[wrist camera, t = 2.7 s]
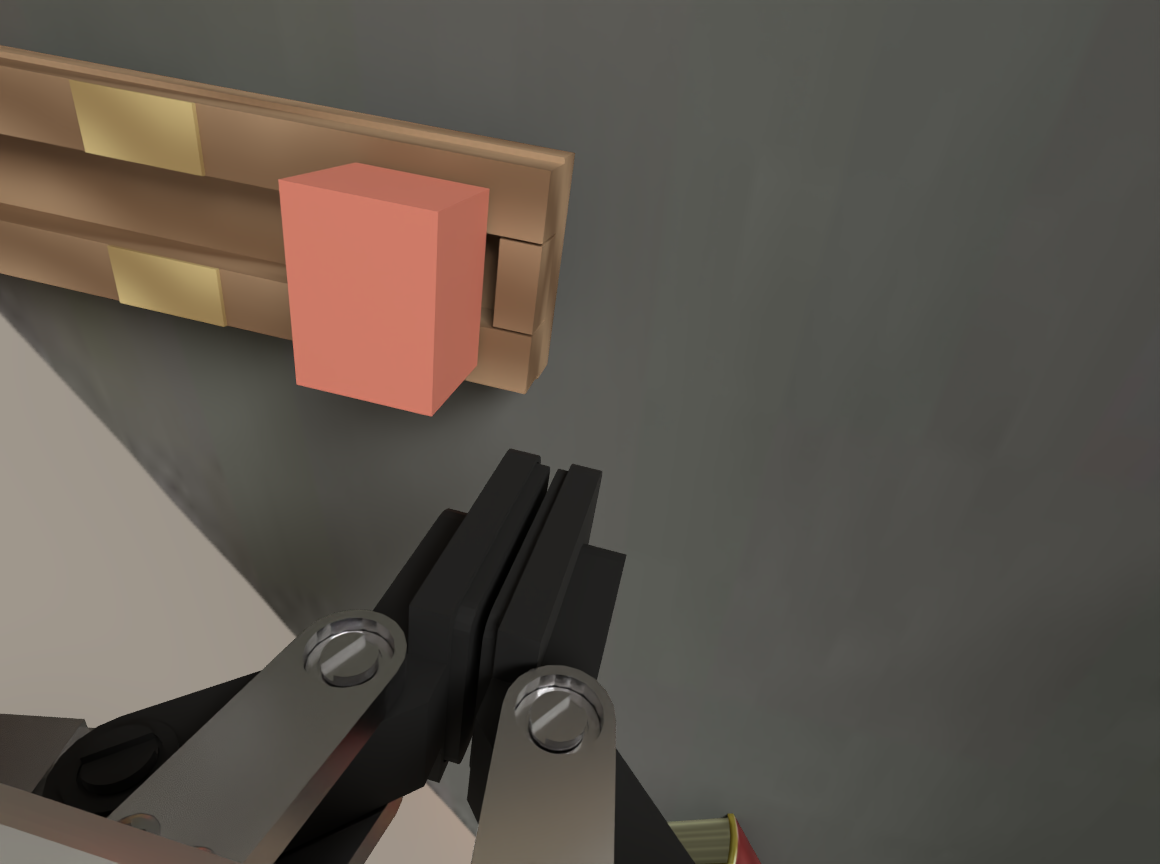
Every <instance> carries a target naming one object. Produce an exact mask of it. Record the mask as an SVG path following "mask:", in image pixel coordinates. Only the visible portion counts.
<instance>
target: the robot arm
mask: <svg viewBox="0 0 1160 864" xmlns="http://www.w3.org/2000/svg"><path fill="white" fill-rule="evenodd" d="M549 474H550V467H549V466H545V465H541V457H540V456H539V455H535V454H531V453H527V452H522V451H518V450H514V449H509V450H508V451H507V453H506V454H505V456H504V457H503V459H502V460H501V462H500V464H499V465H498V467H497V468H496V470H495V471H494V473H493V474H492V476H491V478H490V479H489V481H488V482H487V484H486V485H485V487H484V489H483V490H482V492H481V493H480V495H479V496H478V498H477V500H476V501H475V503H474V504H473V506H472V507H471V509H470V511H469V512H468V513H464V512H460V511H457V510H453V509H449V508H448V509H446V510H444V511H443V512H442V513H441V515H440V516H439V517H438V519H437V520H436V522H435V523H434V524H433V526H432V527H431V529H430V530H429V532H428V533H427V534H426V536H425V537H424V539H423V540H422V542H421V543H420V544H419V546H418V547H417V549H416V550H415V552H414V553H413V554H412V556H411V557H410V559H409V560H408V562H407V563H406V564H405V566H404V567H403V569H402V570H401V571H400V573H399V574H398V576H397V577H396V579H395V580H394V581H393V583H392V584H391V586H390V587H389V589H388V590H387V591H386V593H385V594H384V596H383V597H382V599H381V600H380V601H379V603H378V604H377V606H376V607H375V609H374V610H373V611H370V610H347V611H341V612H336V613H333V614H331V615H328V616H326V617H324V618H321V619H319V620H317V621H316V622H314V623H313V624H312V625H310V626H309V627H308V628H306V629H305V630H304V631H303V632H302V633H301V634H300V635H298V636H297V637H296V638H295V639H294V640H293V641H292V642H291V643H290V644H289V645H288V646H287V647H286V648H285V649H284V650H283V651H282V652H281V653H280V654H278V655H277V656H276V657H275V658H274V659H273V660H272V661H271V662H270V663H269V664H268V665H267V666H266V667H265V668H264V669H263V670H261V671H258V672H255V673H252V674H249V675H246V676H243V677H240V678H237V679H234V680H231V681H228V682H225V683H222V684H219V685H216V686H213V687H210V688H206V689H204V690H201V691H197V692H194V693H191V694H188V695H185V696H182V697H179V698H176V699H173V700H170V701H167V702H164V703H161V704H158V705H154V706H151V707H149V708H145V709H142V710H139V711H136V712H133V713H130V714H127V715H124V716H121V717H118V718H116V719H114V720H112V721H109V722H107V723H105V724H102V725H100V726H98V727H97V728H87V725H86V722H85V720H84V719H73V718H58V717H57V718H56V717H42V716H27V715H13V714H0V864H364V863H365V861H366V860H367V858H368V857H369V855H370V854H371V852H372V851H373V849H374V847H375V846H376V844H377V843H378V841H379V840H380V838H381V837H382V835H383V834H384V832H385V830H386V829H387V827H388V826H389V824H390V823H391V821H392V819H393V818H394V817H395V815H396V813H397V811H398V809H399V806H400V804H401V802H402V798H403V796H405V795H407V794H409V793H411V792H413V791H415V790H417V789H419V788H421V787H424V785H425V783H426V781H427V779H429V780H432V781H435V782H438V783H439V782H440V780H441V778H442V775H443V773H444V771H445V768H446V766H447V764H448V761H450V762H454V763H457V764H460V763H461V761H462V759H463V757H464V755H465V752H466V750H467V748H468V745H469V743H470V740H471V738H472V745H471V755H470V777H469V787H468V796H467V801H468V803H469V805H470V807H471V809H472V811H473V814H474V816H475V818H476V820H477V822H478V824H479V825H478V830H477V835H476V840H475V845H474V850H473V855H472V861H471V864H695V862H694V861H693V859H692V858H691V856H690V855H689V853H688V852H687V851H686V849H685V848H684V846H683V845H682V843H681V842H680V840H679V839H678V838H677V836H676V835H675V833H674V832H673V830H672V829H671V827H670V826H669V824H668V823H667V822H666V820H665V819H664V817H663V816H662V814H661V813H660V811H659V810H658V808H657V807H656V806H655V804H654V803H653V801H652V800H651V798H650V797H649V795H648V794H647V793H646V791H645V790H644V788H643V787H642V785H641V784H640V782H639V781H638V779H637V778H636V777H635V775H634V774H633V772H632V771H631V769H630V768H629V766H628V765H627V763H626V762H625V761H624V759H623V758H622V756H621V755H620V753H619V752H618V750H617V749H616V715H615V709H614V704H613V702H612V700H611V698H610V697H609V695H608V693H607V691H606V690H605V689H604V688H603V687H602V686H601V684H600V683H599V682H598V681H597V677H598V673H599V668H600V664H601V660H602V656H603V652H604V647H605V643H606V639H607V635H608V630H609V626H610V622H611V618H612V613H613V609H614V605H615V601H616V597H617V592H618V588H619V584H620V580H621V575H622V571H623V567H624V563H625V559H626V554H622V553H618V552H614V551H610V550H606V549H602V548H599V547H595V546H591V545H588V543H589V538H590V533H591V528H592V523H593V518H594V513H595V508H596V503H597V498H598V493H599V488H600V483H601V478H602V471H600V470H596V469H592V468H587V467H583V466H579V465H575V464H572V465H571V467H570V469H569V471H565V470H561V469H558V470H557V472H556V474H555V476H554V478H553V481H552V483H551V485H550V487H549V489H548V491H547V487H548V481H549Z"/></svg>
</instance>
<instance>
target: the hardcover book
mask: <svg viewBox="0 0 1160 864" xmlns="http://www.w3.org/2000/svg"><path fill="white" fill-rule="evenodd" d="M667 823H668V824H669V826H670V827H671V829H672V830H673V832H674V833H675V835H676V836H677V838H678V839H679V840H680V842H681V843H682V845H683V846H684V848H685V849H686V851H687V852H688V853H689V855H690V856H691V858H692V859H693V861H694V862H695V864H761V863H760V861H759V859H758V857H757V855H756V854H755V852H754V850H753V848H752V846H751V845H750V843H749V841H748V839H747V837H746V836H745V834H744V832H743V830H742V829H741V827H740V825H739V823H738V821H737V820H736V818H735V816H734V814H728V818H716V819H702V820H688V821H674V822H667Z"/></svg>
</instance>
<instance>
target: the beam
mask: <svg viewBox="0 0 1160 864" xmlns="http://www.w3.org/2000/svg"><path fill="white" fill-rule="evenodd" d="M574 157H575V153H572V152H566V151H561V150H556V149H550V148H545V147H540V146H534V145H529V144H524V143H518V142H513V141H508V140H502V139H497V138H492V137H486V136H481V135H476V134H470V133H465V132H460V131H454V130H449V129H444V128H438V127H433V126H428V125H422V124H417V123H412V122H406V121H401V120H396V119H390V118H385V117H380V116H374V115H369V114H364V113H358V112H353V111H348V110H342V109H337V108H332V107H326V106H321V105H316V104H310V103H305V102H300V101H294V100H289V99H284V98H279V97H273V96H268V95H263V94H257V93H252V92H247V91H241V90H236V89H231V88H225V87H220V86H215V85H209V84H204V83H199V82H193V81H188V80H183V79H177V78H172V77H167V76H161V75H156V74H151V73H145V72H140V71H135V70H129V69H124V68H119V67H113V66H108V65H103V64H97V63H92V62H87V61H81V60H76V59H71V58H65V57H60V56H55V55H49V54H44V53H39V52H33V51H28V50H23V49H17V48H12V47H7V46H1V45H0V273H2V274H6V275H10V276H15V277H19V278H23V279H28V280H32V281H36V282H41V283H45V284H49V285H54V286H58V287H62V288H67V289H71V290H75V291H80V292H84V293H88V294H93V295H97V296H101V297H106V298H110V299H114V300H119V301H120V303H123V304H127V305H132V306H136V307H140V308H145V309H149V310H153V311H158V312H162V313H166V314H171V315H175V316H179V317H184V318H188V319H192V320H197V321H201V322H205V323H210V324H214V325H218V326H223V327H225V326H232V327H236V328H240V329H245V330H249V331H253V332H258V333H262V334H266V335H271V336H275V337H279V338H284V339H288V340H292V341H293V338H292V327H291V316H290V305H289V294H288V282H287V271H286V260H285V249H284V238H283V227H282V216H281V204H280V193H279V182H278V179H283V178H287V177H292V176H296V175H301V174H306V173H310V172H315V171H319V170H324V169H328V168H333V167H337V166H342V165H346V164H351V163H361V164H367V165H372V166H377V167H382V168H387V169H392V170H397V171H402V172H407V173H412V174H417V175H423V176H428V177H433V178H438V179H443V180H448V181H453V182H458V183H463V184H468V185H473V186H479V187H484V188H489V189H490V190H489V204H488V218H487V232H486V247H485V261H484V275H483V289H482V303H481V318H480V332H479V346H478V360H477V366H476V367H475V368H474V369H473V371H472V372H471V373H470V374H469V375H468V376H467V377H466V378H465V380H466V381H470V382H475V383H479V384H483V385H488V386H492V387H496V388H501V389H505V390H509V391H514V392H518V393H522V394H526V392H527V391H528V389H529V387H530V386H531V384H532V383H533V381H534V380H535V379H538V377H539V376H540V374H541V373H542V371H543V370H544V368H545V367H546V365H547V362H548V354H549V346H550V339H551V331H552V324H553V316H554V308H555V301H556V293H557V286H558V278H559V270H560V263H561V255H562V248H563V240H564V232H565V225H566V217H567V210H568V202H569V195H570V187H571V179H572V172H573V164H574Z"/></svg>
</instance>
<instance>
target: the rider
mask: <svg viewBox="0 0 1160 864" xmlns="http://www.w3.org/2000/svg"><path fill="white" fill-rule="evenodd" d="M278 182H279V193H280V204H281V216H282V227H283V238H284V249H285V260H286V271H287V282H288V294H289V305H290V316H291V327H292V338H293V349H294V360H295V372H296V383H297V385H301V386H305V387H310V388H314V389H318V390H322V391H326V392H331V393H335V394H339V395H343V396H347V397H352V398H356V399H360V400H364V401H368V402H373V403H377V404H381V405H385V406H389V407H394V408H398V409H402V410H406V411H410V412H415V413H419V414H423V415H427V416H431V417H432V416H433V414H434V413H435V412H436V411H437V410H438V409H439V408H440V407H441V405H442V404H443V403H444V402H445V401H446V400H447V399H448V398H449V396H450V395H451V394H452V393H453V392H454V391H455V390H456V389H457V387H458V386H459V385H460V384H461V383H462V382H463V381H464V380H465V378H466V377H467V376H468V375H469V374H470V373H471V372H472V371H473V369H474V368H475V367H476V366H477V360H478V346H479V332H480V318H481V303H482V289H483V275H484V261H485V247H486V232H487V218H488V204H489V190H490V189H489V188H484V187H479V186H473V185H468V184H463V183H458V182H453V181H448V180H443V179H438V178H433V177H428V176H423V175H417V174H412V173H407V172H402V171H397V170H392V169H387V168H382V167H377V166H372V165H367V164H361V163H351V164H346V165H342V166H337V167H333V168H328V169H324V170H319V171H315V172H310V173H306V174H301V175H296V176H292V177H287V178H283V179H278Z"/></svg>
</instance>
